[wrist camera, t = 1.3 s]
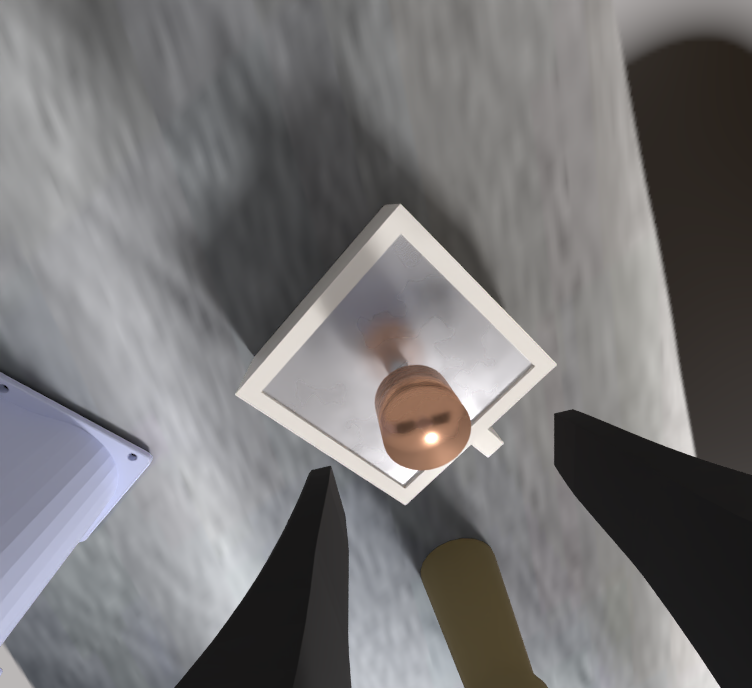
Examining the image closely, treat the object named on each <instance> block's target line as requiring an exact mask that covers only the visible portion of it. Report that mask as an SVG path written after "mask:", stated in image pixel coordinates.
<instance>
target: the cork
mask: <svg viewBox="0 0 752 688" xmlns="http://www.w3.org/2000/svg"><path fill="white" fill-rule="evenodd" d="M420 572H421V578H422V582H423V584H424V587H425V589H426V592H427V594H428V597H429V599H430V602H431V605H432V607H433V610H434V612H435V615H436V617H437V620H438V622H439V625H440V627H441V630H442V632H443V635H444V637H445V640H446V642H447V645H448V647H449V650H450V652H451V655H452V657H453V660H454V663H455V665H456V668H457V670H458V673H459V675H460V678H461V680H462V683H463V685H464V688H548V687H547V686H546V684H545V683H544V682H543V681H542V680H541V679H539V678H538V677H537V676H536V675H534V673H533V670H532V667H531V664H530V661H529V658H528V655H527V652H526V649H525V646H524V643H523V640H522V637H521V634H520V631H519V627H518V624H517V621H516V618H515V615H514V612H513V609H512V606H511V603H510V600H509V597H508V594H507V591H506V588H505V585H504V582H503V579H502V576H501V573H500V570H499V567H498V564H497V561H496V558H495V555H494V553H493V551H492V549H491V547H490V546H488V545H487V544H486V543H484V542H483V541H479V540H476V539H466V538H461V539H457V540H452V541H449V542H447V543H444V544H442V545H440V546H438V547H437V548H436V549H434V550H433V551H432V552H431V553H430V554H429V555H428V556H427V558H426V559H425V560H424V562H423V564H422V568H421V571H420Z"/></svg>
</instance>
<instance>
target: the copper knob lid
mask: <svg viewBox="0 0 752 688" xmlns="http://www.w3.org/2000/svg"><path fill="white" fill-rule="evenodd" d="M532 366H533V364H532V363H531V362H530V361H529V360H528V359H527V358H526V357H525V356H524V355H523V354H522V353H521V352H520V351H519V350H518V349H517V348H516V347H515V346H514V345H513V344H512V343H511V342H510V341H508V340H507V339H506V338H505V337H504V336H503V335H502V334H501V333H500V332H499V331H498V330H497V329H496V328H495V327H494V326H493V325H492V324H491V323H490V322H489V321H488V320H487V319H486V318H485V317H484V316H483V315H482V314H481V313H480V312H479V311H478V310H477V309H476V308H475V307H474V306H473V305H472V304H471V303H470V302H469V301H468V300H467V299H466V298H465V297H464V296H463V295H462V294H461V293H460V292H459V291H458V290H457V289H456V288H455V287H454V286H453V285H452V284H451V283H450V282H449V281H448V280H447V279H446V278H445V277H444V276H443V275H442V274H441V273H440V272H439V271H438V270H437V269H436V268H435V267H434V266H433V265H432V264H431V263H430V262H429V261H428V260H427V259H426V258H425V257H424V256H423V255H422V254H421V253H420V252H419V251H417V250H416V249H415V248H414V247H413V246H412V245H411V244H410V243H409V242H408V241H407V240H406V239H405V238H404V237H403V236H402V235H401V234H400V235H399V237H398V238H397V239H396V240H395V241H394V242H393V243H392V244H391V246H390V247H389V248H388V249H387V250H386V251H385V252H384V254H383V255H382V256H381V257H380V258H379V259H378V260H377V261H376V263H375V264H374V265H373V266H372V267H371V268H370V269H369V271H368V272H367V273H366V274H365V275H364V276H363V277H362V278H361V280H360V281H359V282H358V283H357V284H356V285H355V286H354V287H353V289H352V290H351V291H350V292H349V293H348V294H347V295H346V297H345V298H344V299H343V300H342V301H341V302H340V303H339V304H338V306H337V307H336V308H335V309H334V310H333V311H332V312H331V314H330V315H329V316H328V317H327V318H326V319H325V320H324V321H323V323H322V324H321V325H320V326H319V327H318V328H317V329H316V330H315V332H314V333H313V334H312V335H311V336H310V337H309V338H308V340H307V341H306V342H305V343H304V344H303V345H302V346H301V347H300V349H299V350H298V351H297V352H296V353H295V354H294V355H293V357H292V358H291V359H290V360H289V361H288V362H287V363H286V364H285V366H284V367H283V368H282V369H281V370H280V371H279V372H278V373H277V375H276V376H275V377H274V378H273V379H272V380H271V381H270V383H269V384H268V385H267V386H266V387H265V388H264V389H263V390H262V391H263V392H264V393H266V394H267V395H269V396H270V397H272V398H273V399H275V400H276V401H278V402H279V403H281V404H282V405H283V406H285V407H286V408H288V409H289V410H291V411H292V412H294V413H295V414H297V415H298V416H300V417H301V418H303V419H304V420H306V421H307V422H309V423H310V424H312V425H313V426H315V427H316V428H318V429H319V430H321V431H322V432H324V433H325V434H327V435H328V436H330V437H331V438H333V439H334V440H336V441H337V442H339V443H340V444H342V445H343V446H344V447H346V448H347V449H349V450H350V451H352V452H353V453H355V454H356V455H358V456H359V457H361V458H362V459H364V460H365V461H367V462H368V463H370V464H371V465H373V466H374V467H376V468H377V469H379V470H380V471H382V472H383V473H385V474H386V475H388V476H389V477H391V478H392V479H394V480H395V481H397V482H398V483H400V484H401V485H403V486H404V487H405V486H406V485H407V484H408V483H409V482H410V481H411V480H413V479H414V478H415V477H416V476H417V475H418V474H419V473H420V472H421V471H422V470H431V469H435V468H438V467H441V466H443V465H445V464H447V463H449V462H450V461H452V460H453V459H455V458H456V457H457V456H458V455H459V454H460V453H461V452H462V450H463V449H464V448H465V446H466V444H467V442H468V440H469V437H470V434H471V424H472V423H473V422H474V421H475V420H476V419H477V418H478V417H479V416H480V415H481V414H483V413H484V412H485V411H486V410H487V409H488V408H489V407H490V406H491V405H492V404H493V403H494V402H495V401H496V400H497V399H498V398H499V397H501V396H502V395H503V394H504V393H505V392H506V391H507V390H508V389H509V388H510V387H511V386H512V385H513V384H514V383H515V382H516V381H517V380H519V379H520V378H521V377H522V376H523V375H524V374H525V373H526V372H527V371H528V370H529V369H530V368H531V367H532Z"/></svg>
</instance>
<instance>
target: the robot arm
mask: <svg viewBox="0 0 752 688" xmlns="http://www.w3.org/2000/svg"><path fill="white" fill-rule="evenodd" d="M4 385H6V386H7V387H8V389H6V388H5V387H4ZM131 453H133V454H135V455H137V456H136V457H135V456H133V455H132V454H131ZM151 461H152V455H151V454H150V453H149V452H147V451H145V450H143V449H142V448H140V447H138V446H136V445H134V444H132V443H131V442H129V441H127V440H125V439H123V438H121V437H119V436H118V435H116V434H114V433H112V432H110V431H108V430H106V429H105V428H103V427H101V426H99V425H97V424H95V423H93V422H92V421H90V420H88V419H86V418H84V417H82V416H81V415H79V414H77V413H75V412H73V411H71V410H69V409H68V408H66V407H64V406H62V405H60V404H58V403H56V402H55V401H53V400H51V399H49V398H47V397H45V396H44V395H42V394H40V393H38V392H36V391H34V390H32V389H31V388H29V387H27V386H25V385H23V384H21V383H19V382H18V381H16V380H14V379H12V378H10V377H8V376H6V375H5V374H3V373H1V372H0V646H1V645H2V643H3V642H4V641H5V639H6V638H7V637H8V635H9V634H10V633H11V631H12V630H13V629H14V627H15V626H16V625H17V623H18V622H19V621H20V619H21V618H22V617H23V615H24V614H25V613H26V611H27V610H28V609H29V607H30V606H31V605H32V603H33V602H34V601H35V599H36V598H37V597H38V595H39V594H40V593H41V591H42V590H43V589H44V587H45V586H46V585H47V584H48V582H49V581H50V580H51V578H52V577H53V576H54V574H55V573H56V572H57V570H58V569H59V568H60V566H61V565H62V564H63V562H64V561H65V560H66V558H67V557H68V556H69V554H70V553H71V552H72V550H73V549H74V548H75V546H76V545H77V544H78V542H82V541H84V540H86V539H87V538H88V536H89V535H90V534H91V533H92V532H93V530H94V529H95V528H96V527H97V526H98V525H99V523H100V522H101V521H102V520H103V519H104V517H105V516H106V515H107V514H108V513H109V512H110V510H111V509H112V508H113V507H114V506H115V505H116V503H117V502H118V501H119V500H120V499H121V497H122V496H123V495H124V494H125V493H126V492H127V490H128V489H129V488H130V487H131V486H132V484H133V483H134V482H135V481H136V480H137V479H138V477H139V476H140V475H141V474H142V473H143V471H144V470H145V469H146V468H147V467H148V466H149V464H150V463H151ZM554 465H555V467H556V468H557V470H558V471H559V473H560V475H561V476H562V478H563V479H564V481H565V482H566V484H567V485H568V487H569V488H570V489H571V491H572V492H573V494H574V495H575V496H576V497H577V499H578V500H579V501H580V502H581V503H582V505H583V506H584V507H585V508H586V509H587V510H588V512H589V513H590V514H591V515H592V516H593V517H594V519H595V520H596V521H597V522H598V523H599V524H600V526H601V527H602V528H603V529H604V530H605V531H606V532H607V534H608V535H609V536H610V537H611V538H612V539H613V541H614V542H615V543H616V544H617V545H618V546H619V547H620V549H621V550H622V551H623V552H624V553H625V554H626V556H627V557H628V558H629V559H630V560H631V561H632V563H633V564H634V565H635V566H636V568H637V569H638V570H639V571H640V573H641V574H642V575H643V576H644V578H645V579H646V581H647V582H648V583H649V585H650V586H651V587H652V589H653V590H654V592H655V593H656V594H657V596H658V597H659V598H660V600H661V601H662V603H663V604H664V605H665V607H666V608H667V609H668V611H669V612H670V614H671V615H672V616H673V618H674V619H675V621H676V622H677V624H678V625H679V627H680V628H681V629H682V631H683V632H684V634H685V635H686V637H687V638H688V640H689V641H690V642H691V644H692V645H693V647H694V648H695V650H696V651H697V653H698V654H699V655H700V657H701V659H702V660H703V662H704V663H705V665H706V666H707V668H708V669H709V671H710V672H711V674H712V675H713V677H714V678H715V680H716V681H717V683H718V684H719V686H720V687H721V688H752V475H750V474H746V473H743V472H739V471H736V470H733V469H730V468H727V467H723V466H720V465H717V464H714V463H710V462H707V461H704V460H701V459H699V458H696V457H693V456H690V455H687V454H685V453H682V452H679V451H676V450H673V449H671V448H668V447H665V446H663V445H660V444H658V443H655V442H652V441H650V440H647V439H645V438H642V437H640V436H638V435H635V434H633V433H630V432H628V431H625V430H623V429H621V428H618V427H616V426H613V425H611V424H609V423H606V422H604V421H601V420H599V419H597V418H594V417H592V416H589V415H587V414H584V413H581V412H579V411H576V410H573V409H572V410H568V411H564V412H559V413H555V414H554ZM348 580H349V548H348V537H347V528H346V518H345V513H344V509H343V506H342V502H341V499H340V495H339V492H338V488H337V485H336V482H335V478H334V475H333V471H332V468H331V466H328V467H323V468H319V469H315V470H311V472H310V473H309V475H308V477H307V480H306V483H305V485H304V487H303V490H302V492H301V495H300V497H299V499H298V501H297V504H296V506H295V508H294V510H293V512H292V514H291V516H290V518H289V520H288V522H287V525H286V527H285V529H284V531H283V533H282V534H281V536H280V538H279V540H278V542H277V544H276V545H275V547H274V549H273V551H272V553H271V555H270V556H269V558H268V560H267V562H266V563H265V565H264V567H263V568H262V570H261V572H260V573H259V575H258V577H257V578H256V580H255V581H254V583H253V584H252V586H251V587H250V589H249V591H248V592H247V594H246V595H245V597H244V598H243V600H242V601H241V602H240V604H239V605H238V607H237V608H236V610H235V611H234V612H233V614H232V615H231V617H230V618H229V619H228V621H227V622H226V624H225V625H224V626H223V628H222V629H221V630H220V632H219V633H218V634H217V636H216V637H215V638H214V640H213V641H212V642H211V644H210V645H209V646H208V647H207V649H206V650H205V651H204V652H203V653H202V655H201V656H200V657H199V658H198V660H197V661H196V662H195V663H194V665H193V666H192V667H191V668H190V669H189V671H188V672H187V673H186V674H185V676H184V677H183V678H182V679H181V680H180V682H179V683H178V684H177V685H176V686H175V688H351V676H350V663H349V645H348ZM2 672H3V671H2V669H1V668H0V675H1V674H2Z"/></svg>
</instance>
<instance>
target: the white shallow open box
mask: <svg viewBox="0 0 752 688" xmlns="http://www.w3.org/2000/svg"><path fill="white" fill-rule="evenodd" d="M400 234H401V235H402V236H403V237H404V238H405V239H406V240H407V241H408V242H409V243H410V244H411V245H412V246H413V247H414V248H415V249H416V250H417V251H419V252H420V253H421V254H422V255H423V256H424V257H425V258H426V259H427V260H428V261H429V262H430V263H431V264H432V265H433V266H434V267H435V268H436V269H437V270H438V271H439V272H440V273H441V274H442V275H443V276H444V277H445V278H446V279H447V280H448V281H449V282H450V283H451V284H452V285H453V286H454V287H455V288H456V289H457V290H458V291H459V292H460V293H461V294H462V295H463V296H464V297H465V298H466V299H467V300H468V301H469V302H470V303H471V304H472V305H473V306H474V307H475V308H476V309H477V310H478V311H479V312H480V313H481V314H482V315H483V316H484V317H485V318H486V319H487V320H488V321H489V322H490V323H491V324H492V325H493V326H494V327H495V328H496V329H497V330H498V331H499V332H500V333H501V334H502V335H503V336H504V337H505V338H506V339H507V340H508V341H510V342H511V343H512V344H513V345H514V346H515V347H516V348H517V349H518V350H519V351H520V352H521V353H522V354H523V355H524V356H525V357H526V358H527V359H528V360H529V361H530V362H531V363H532V364H533V366H532V367H531V368H530V369H529V370H528V371H527V372H526V373H525V374H524V375H523V376H522V377H521V378H520V379H519V380H517V381H516V382H515V383H514V384H513V385H512V386H511V387H510V388H509V389H508V390H507V391H506V392H505V393H504V394H503V395H502V396H501V397H499V398H498V399H497V400H496V401H495V402H494V403H493V404H492V405H491V406H490V407H489V408H488V409H487V410H486V411H485V412H484V413H483V414H481V415H480V416H479V417H478V418H477V419H476V420H475V421H474V422H473V423H472V424H471V434H470V437H469V440H468V442H467V444H466V446H465V448H464V449H463V450H462V452H464V451H465V450H466V449H467V448H468V447H469V446H470V445H473V446H474V447H475V448H477V449H478V450H479V451H480V452H482V453H483V454H484V455H485V456H487V457H489V456H490V455H492V454H493V453H494V452H495V451H496V450H497V449H498V448H499V447H500V446H501V445H503V444H504V442H503V441H502V440H501V438H500V437H499V436H498V434H497V433H496V432H495V430H494V429H493V428H492V425H493V424H494V423H495V422H496V421H497V420H498V419H499V418H500V417H501V416H502V415H503V414H504V413H506V412H507V411H508V410H509V409H510V408H511V407H512V406H513V405H514V404H515V403H516V402H517V401H518V400H519V399H521V398H522V397H523V396H524V395H525V394H526V393H527V392H528V391H529V390H530V389H531V388H532V387H533V386H535V385H536V384H537V383H538V382H539V381H540V380H541V379H542V378H543V377H544V376H545V375H546V374H547V373H549V372H550V371H551V370H552V369H553V368H554V367H555V366H556V365H557V364H556V363H555V362H554V361H553V360H552V359H551V358H550V357H549V356H548V355H547V354H546V353H545V352H544V350H543V349H542V348H541V347H540V346H539V345H538V344H537V343H536V342H535V341H534V340H533V339H532V338H531V337H530V336H529V335H528V334H527V333H526V332H525V331H524V330H523V329H522V328H521V327H520V326H519V325H518V324H517V323H516V322H515V321H514V320H513V319H512V318H511V317H510V316H509V315H508V314H507V312H506V311H505V310H504V309H503V308H502V307H501V306H500V305H499V304H498V303H497V302H496V301H495V300H494V299H493V298H492V297H491V296H490V295H489V294H488V293H487V292H486V291H485V290H484V289H483V288H482V287H481V286H480V285H479V284H478V283H477V282H476V281H475V280H474V279H473V278H472V277H471V276H470V274H469V273H468V272H467V271H466V270H465V269H464V268H463V267H462V266H461V265H460V264H459V263H458V262H457V261H456V260H455V259H454V258H453V257H452V256H451V255H450V254H449V253H448V252H447V251H446V250H445V249H444V248H443V247H442V246H441V245H440V244H439V243H438V242H437V241H436V240H435V239H434V238H433V236H432V235H431V234H430V233H429V232H428V231H427V230H426V229H425V228H424V227H423V226H422V225H421V224H420V223H419V222H418V221H417V220H416V219H415V218H414V217H413V216H412V215H411V214H410V213H409V212H408V211H407V210H406V209H405V208H404V207H403V206H402V205H401V204H390V205H384V206H383V207H382V208H381V209H380V211H379V212H378V213H377V214H376V215H375V216H374V218H373V219H372V220H371V221H370V222H369V223H368V225H367V226H366V227H365V228H364V229H363V230H362V232H361V233H360V234H359V235H358V236H357V237H356V239H355V240H354V241H353V242H352V243H351V244H350V246H349V247H348V248H347V249H346V250H345V251H344V253H343V254H342V255H341V256H340V257H339V258H338V260H337V261H336V262H335V263H334V264H333V265H332V267H331V268H330V269H329V270H328V271H327V272H326V274H325V275H324V276H323V277H322V278H321V279H320V281H319V282H318V283H317V284H316V285H315V286H314V288H313V289H312V290H311V291H310V292H309V293H308V295H307V296H306V297H305V298H304V299H303V300H302V302H301V303H300V304H299V305H298V306H297V307H296V309H295V310H294V311H293V312H292V313H291V314H290V316H289V317H288V318H287V319H286V320H285V321H284V323H283V324H282V325H281V326H280V327H279V328H278V330H277V331H276V332H275V333H274V334H273V335H272V337H271V338H270V339H269V340H268V341H267V342H266V344H265V345H264V346H263V347H262V348H261V349H260V351H259V352H258V353H257V354H256V355H255V356H254V358H253V360H252V362H251V364H250V366H249V368H248V370H247V372H246V374H245V376H244V378H243V380H242V382H241V384H240V386H239V388H238V390H237V392H236V394H235V395H236V396H238V397H239V398H241V399H242V400H244V401H245V402H247V403H248V404H250V405H252V406H253V407H255V408H256V409H258V410H259V411H261V412H262V413H264V414H265V415H267V416H268V417H270V418H272V419H273V420H275V421H276V422H278V423H279V424H281V425H282V426H284V427H285V428H287V429H289V430H290V431H292V432H293V433H295V434H296V435H298V436H299V437H301V438H302V439H304V440H305V441H307V442H309V443H310V444H312V445H313V446H315V447H316V448H318V449H319V450H321V451H322V452H324V453H325V454H327V455H329V456H330V457H332V458H333V459H335V460H336V461H338V462H339V463H341V464H342V465H344V466H346V467H347V468H349V469H350V470H352V471H353V472H355V473H356V474H358V475H359V476H361V477H362V478H364V479H366V480H367V481H369V482H370V483H372V484H373V485H375V486H376V487H378V488H379V489H381V490H382V491H384V492H386V493H387V494H389V495H390V496H392V497H393V498H395V499H396V500H398V501H399V502H401V503H402V504H404V505H406V504H408V503H409V502H410V501H411V500H412V499H413V498H414V497H415V496H416V495H417V494H418V493H419V492H420V491H422V490H423V489H424V488H425V487H426V486H427V485H428V484H429V483H430V482H431V481H432V480H433V479H434V478H436V477H437V476H438V475H439V474H440V473H441V472H442V471H443V470H444V469H445V468H446V467H447V466H448V465H450V464H451V463H452V462H453V461H454V460H455V459H456V458H457V457H458V456H459V455H460V454H461V453H462V452H461V453H460V454H459V455H458V456H457V457H456V458H455V459H453V460H452V461H450V462H449V463H447V464H445V465H443V466H441V467H438V468H435V469H431V470H422V471H421V472H420V473H419V474H418V475H417V476H416V477H415V478H414V479H413V480H411V481H410V482H409V483H408V484H407V485H406V486H405V487H404V486H403V485H401V484H400V483H398V482H397V481H395V480H394V479H392V478H391V477H389V476H388V475H386V474H385V473H383V472H382V471H380V470H379V469H377V468H376V467H374V466H373V465H371V464H370V463H368V462H367V461H365V460H364V459H362V458H361V457H359V456H358V455H356V454H355V453H353V452H352V451H350V450H349V449H347V448H346V447H344V446H343V445H342V444H340V443H339V442H337V441H336V440H334V439H333V438H331V437H330V436H328V435H327V434H325V433H324V432H322V431H321V430H319V429H318V428H316V427H315V426H313V425H312V424H310V423H309V422H307V421H306V420H304V419H303V418H301V417H300V416H298V415H297V414H295V413H294V412H292V411H291V410H289V409H288V408H286V407H285V406H283V405H282V404H281V403H279V402H278V401H276V400H275V399H273V398H272V397H270V396H269V395H267V394H266V393H264V392H263V391H262V390H263V389H264V388H265V387H266V386H267V385H268V384H269V383H270V381H271V380H272V379H273V378H274V377H275V376H276V375H277V373H278V372H279V371H280V370H281V369H282V368H283V367H284V366H285V364H286V363H287V362H288V361H289V360H290V359H291V358H292V357H293V355H294V354H295V353H296V352H297V351H298V350H299V349H300V347H301V346H302V345H303V344H304V343H305V342H306V341H307V340H308V338H309V337H310V336H311V335H312V334H313V333H314V332H315V330H316V329H317V328H318V327H319V326H320V325H321V324H322V323H323V321H324V320H325V319H326V318H327V317H328V316H329V315H330V314H331V312H332V311H333V310H334V309H335V308H336V307H337V306H338V304H339V303H340V302H341V301H342V300H343V299H344V298H345V297H346V295H347V294H348V293H349V292H350V291H351V290H352V289H353V287H354V286H355V285H356V284H357V283H358V282H359V281H360V280H361V278H362V277H363V276H364V275H365V274H366V273H367V272H368V271H369V269H370V268H371V267H372V266H373V265H374V264H375V263H376V261H377V260H378V259H379V258H380V257H381V256H382V255H383V254H384V252H385V251H386V250H387V249H388V248H389V247H390V246H391V244H392V243H393V242H394V241H395V240H396V239H397V238H398V237H399V235H400Z"/></svg>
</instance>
